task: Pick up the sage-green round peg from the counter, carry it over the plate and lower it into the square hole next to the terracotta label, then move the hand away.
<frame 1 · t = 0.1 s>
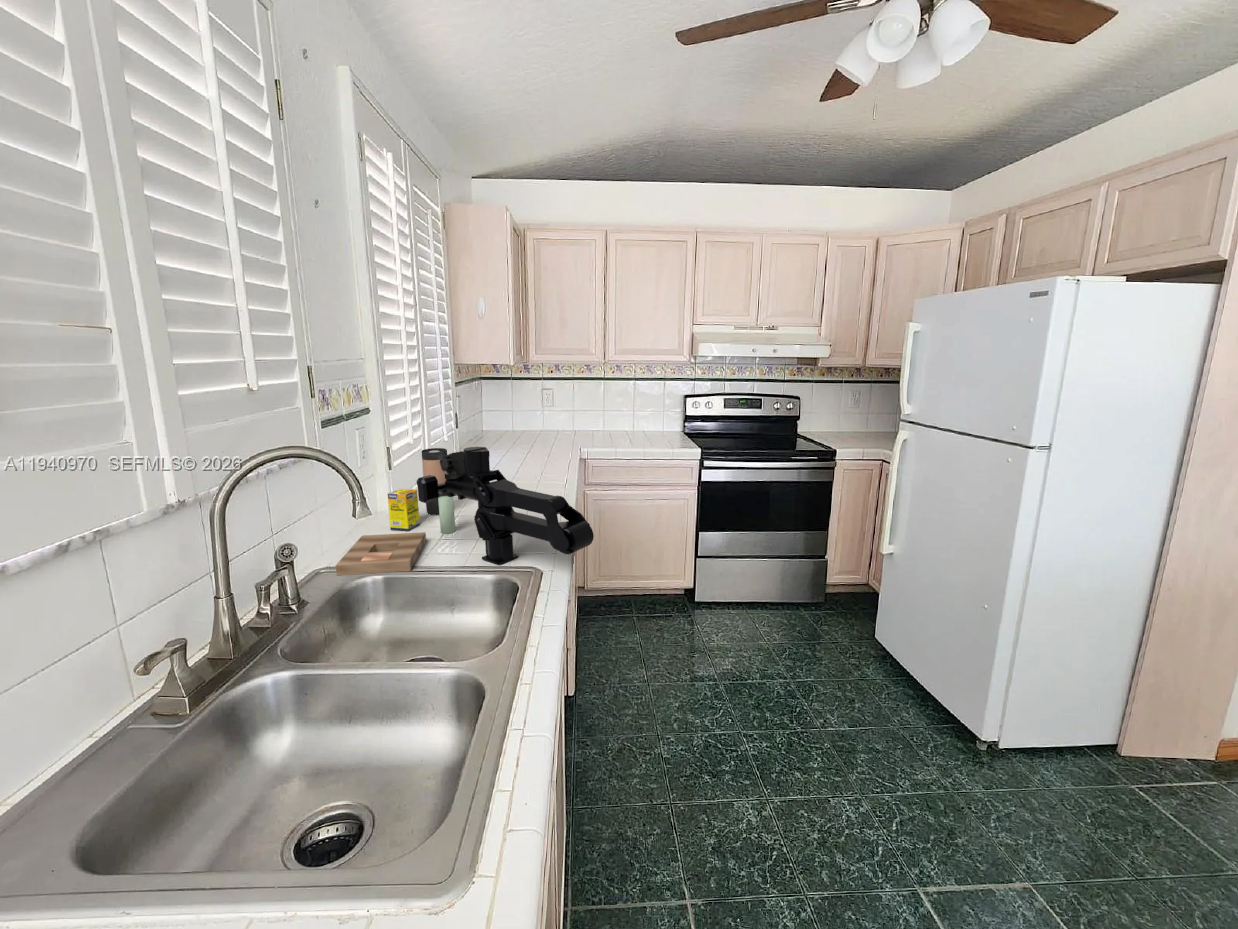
hand: (432, 479, 142), 17 cm above the countertop, tool horizontal, fingers open, 9 cm apart
hole plate: (385, 556, 132), on the countertop
travel mug: (438, 512, 169), on the countertop
peg: (448, 531, 150), on the countertop
supplement box: (405, 528, 154), on the countertop
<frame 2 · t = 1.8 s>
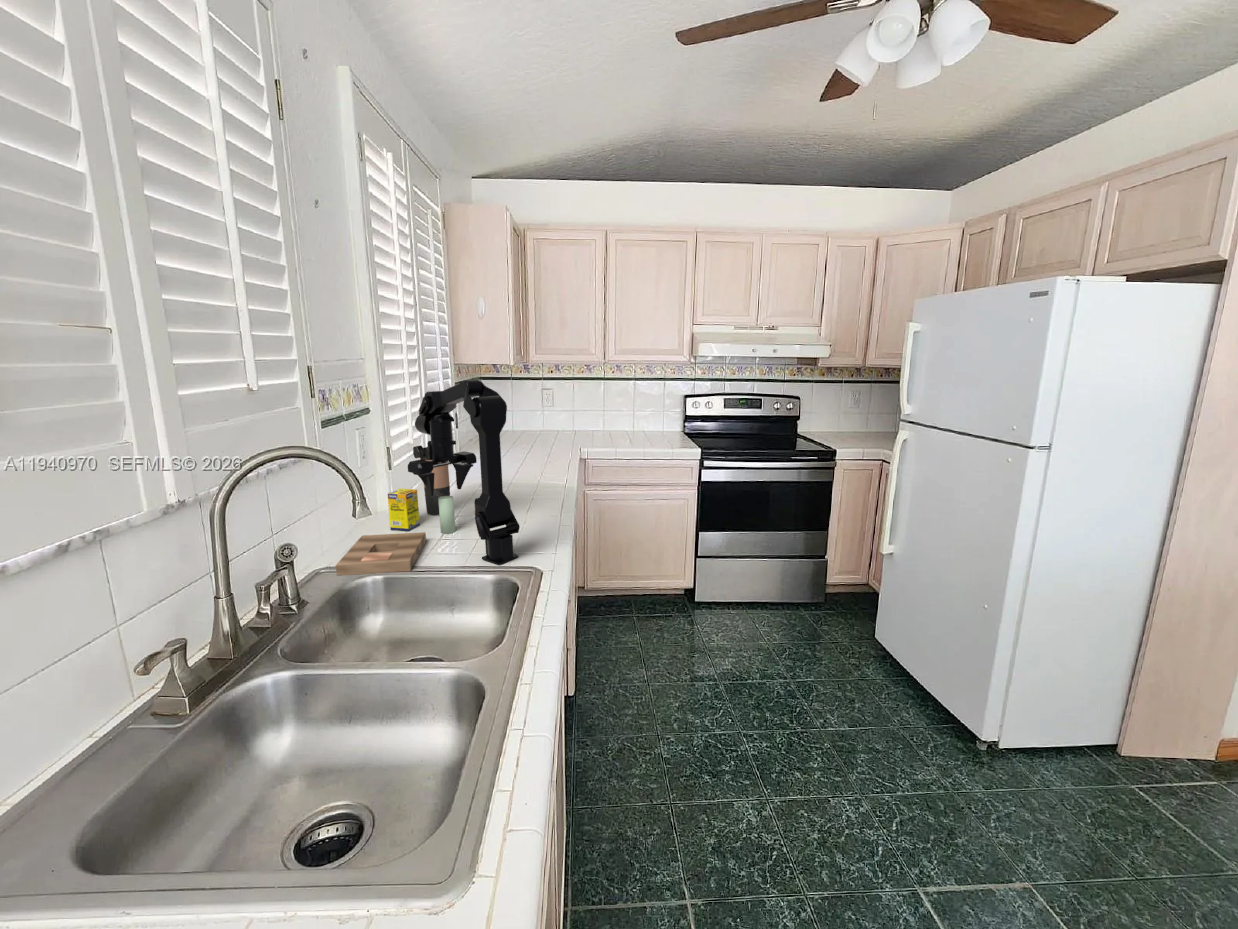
hand: (445, 492, 148), 11 cm above the countertop, tool pointing down, fingers open, 9 cm apart
nothing on the countertop moved.
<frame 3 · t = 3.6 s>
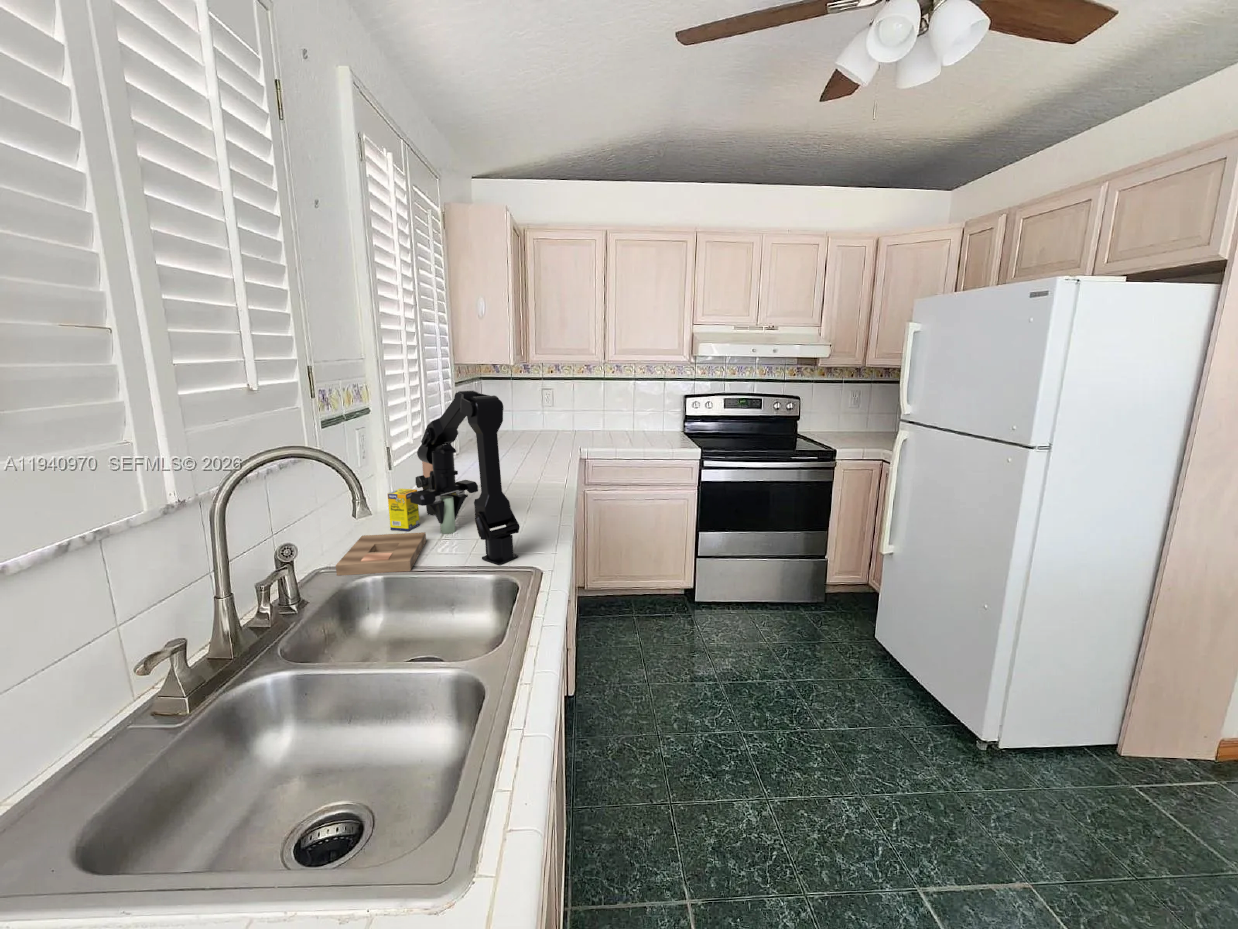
hand: (447, 521, 150), 3 cm above the countertop, tool pointing down, fingers closed on peg, 4 cm apart
peg: (448, 531, 150), on the countertop, touching gripper
everything else where it was.
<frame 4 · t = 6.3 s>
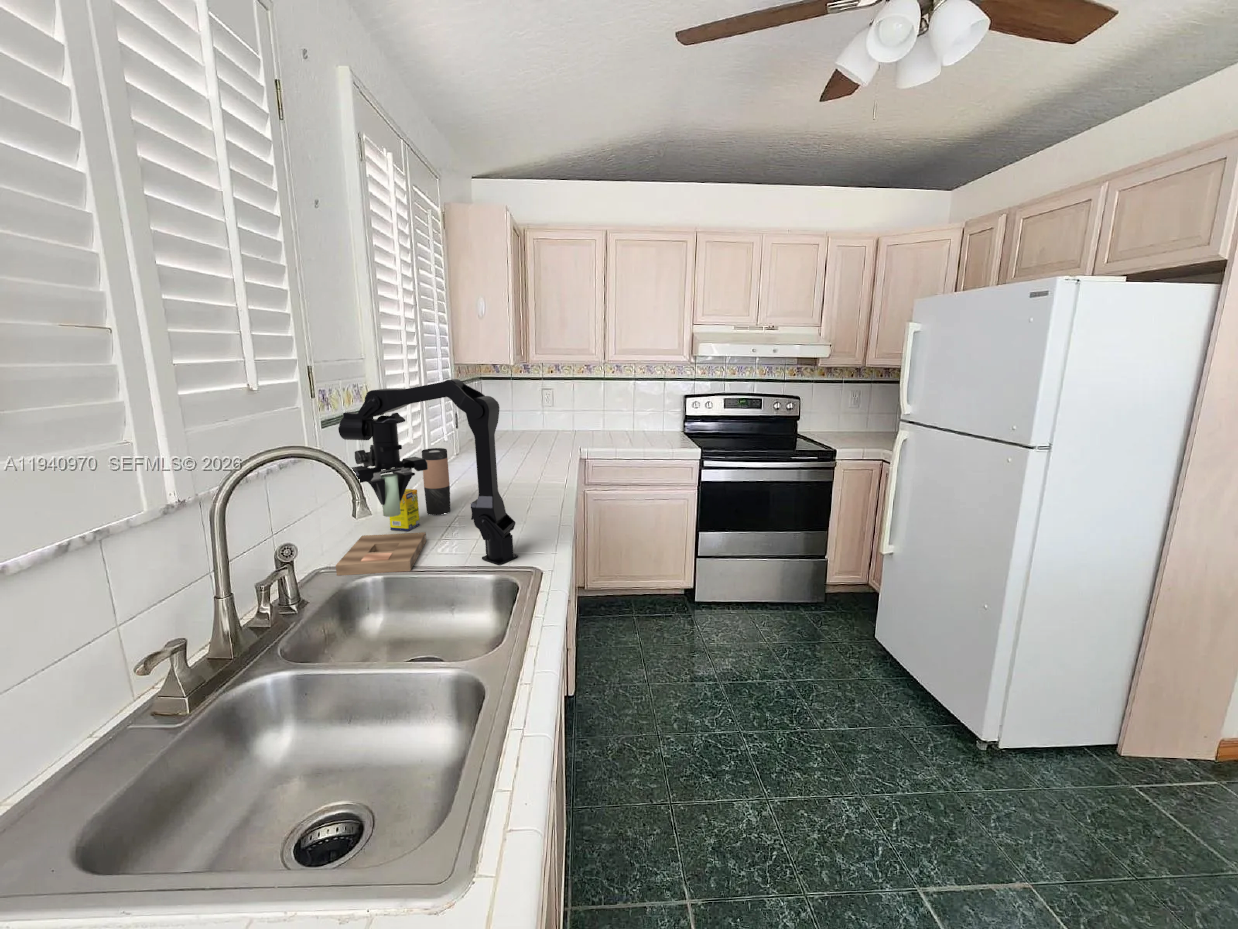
hand: (391, 502, 132), 13 cm above the countertop, tool pointing down, fingers closed on peg, 4 cm apart
peg: (392, 514, 133), point 10 cm above the countertop, touching gripper
everything else where it was.
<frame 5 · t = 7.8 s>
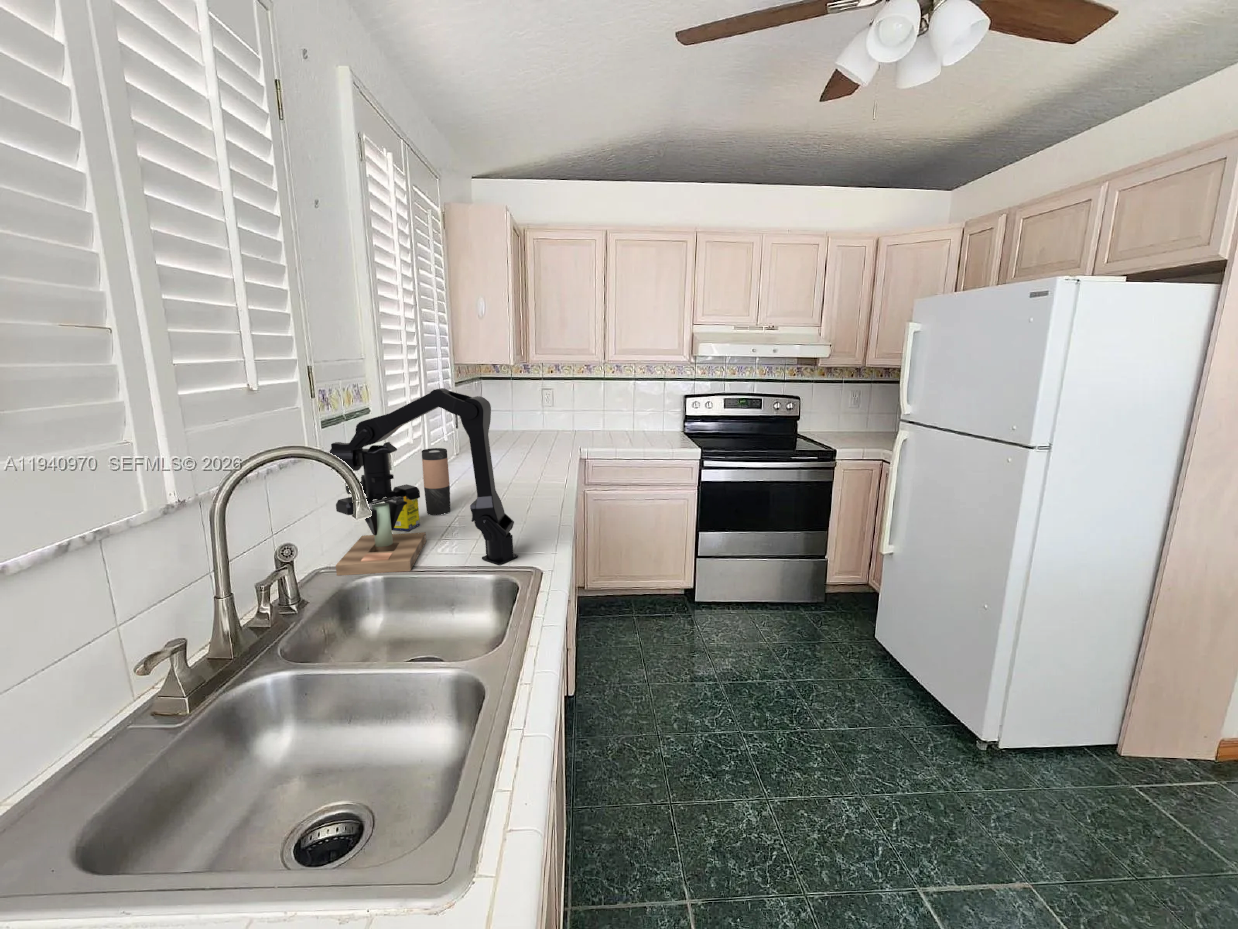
hand: (383, 532, 131), 6 cm above the countertop, tool pointing down, fingers closed on peg, 4 cm apart
peg: (384, 544, 131), point 3 cm above the countertop, touching gripper
everything else where it was.
when the fingers open (4 cm above the countertop, at t = 9.2 s): peg drops 1 cm, resting in hole plate.
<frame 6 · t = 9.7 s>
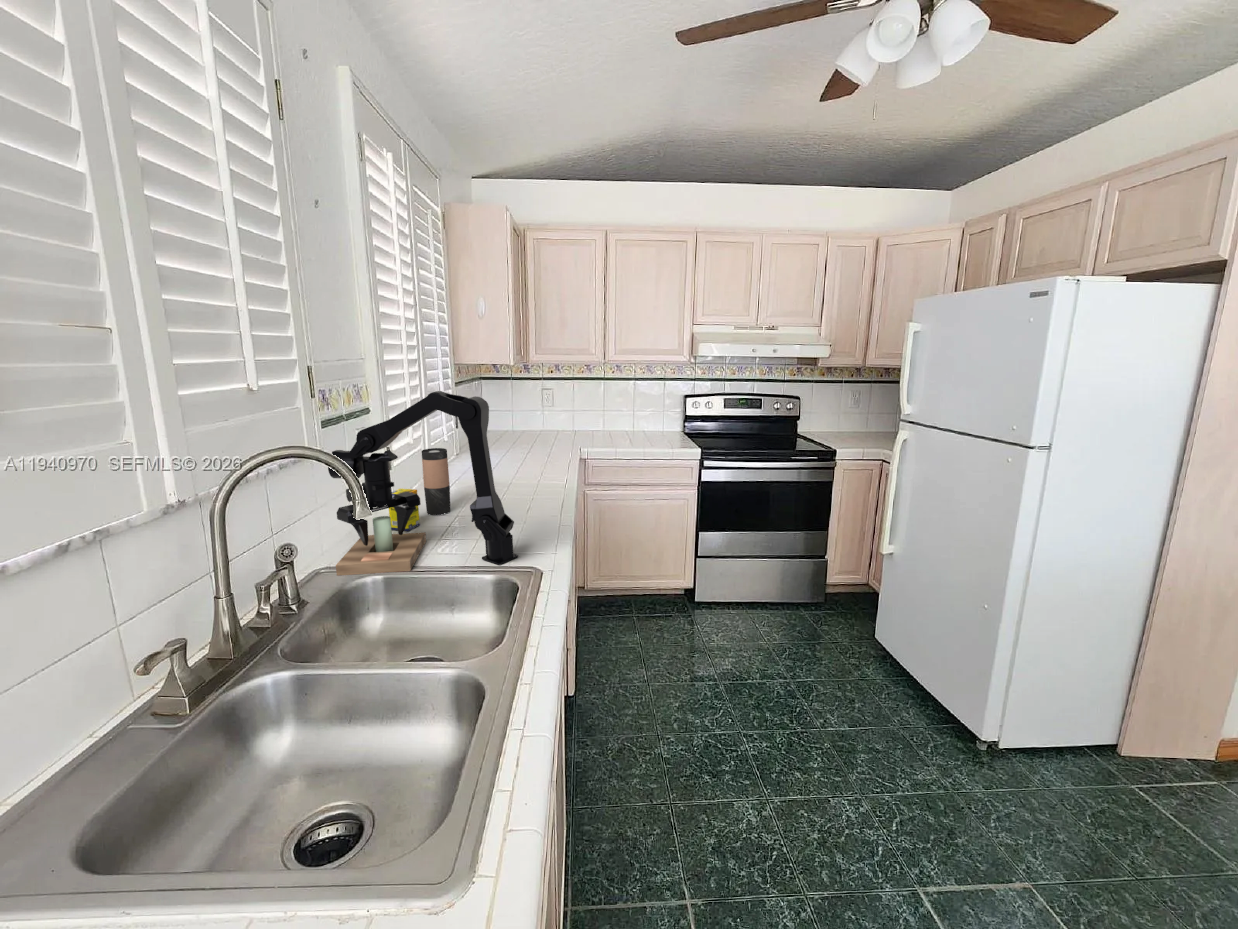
hand: (383, 539, 131), 4 cm above the countertop, tool pointing down, fingers open, 9 cm apart
peg: (385, 556, 132), resting in hole plate
everything else where it was.
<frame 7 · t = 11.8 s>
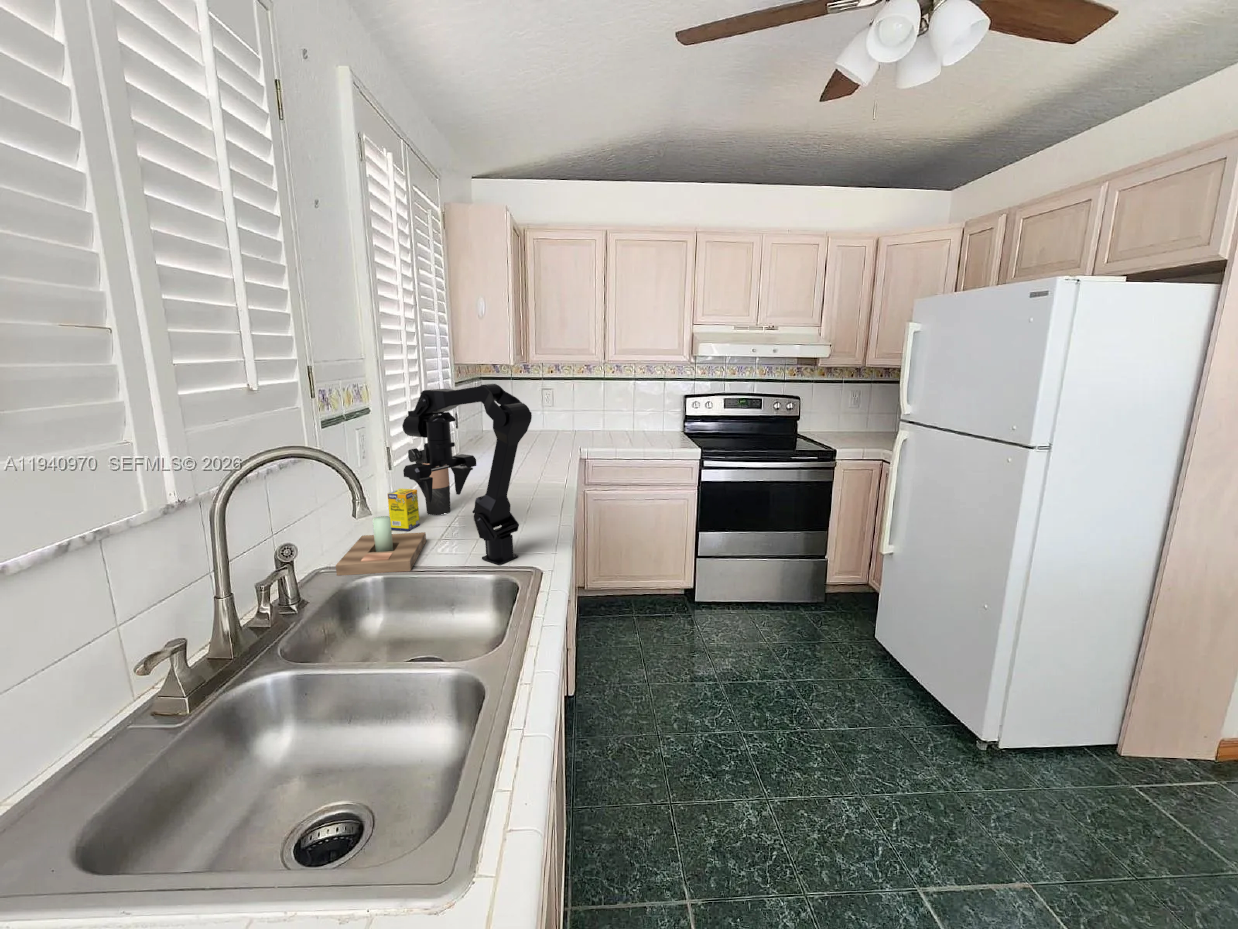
hand: (444, 498, 138), 13 cm above the countertop, tool pointing down, fingers open, 9 cm apart
nothing on the countertop moved.
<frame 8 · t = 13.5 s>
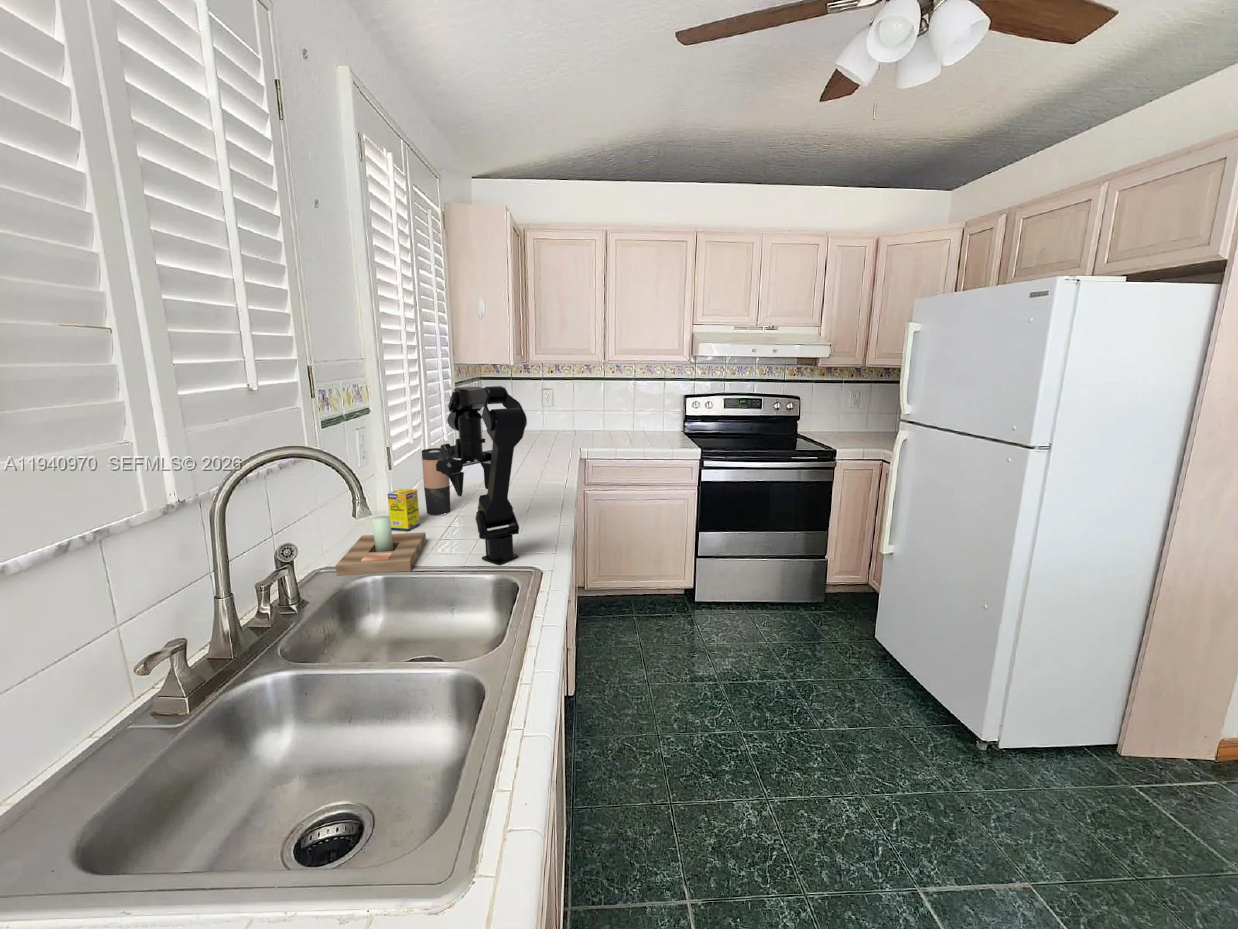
hand: (473, 492, 142), 13 cm above the countertop, tool pointing down, fingers open, 9 cm apart
nothing on the countertop moved.
at the end: peg 0.1 cm off-centre on the hole plate, point 0.0 cm above the hole plate's base; peg tilted 0°; the gripper is holding nothing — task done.
